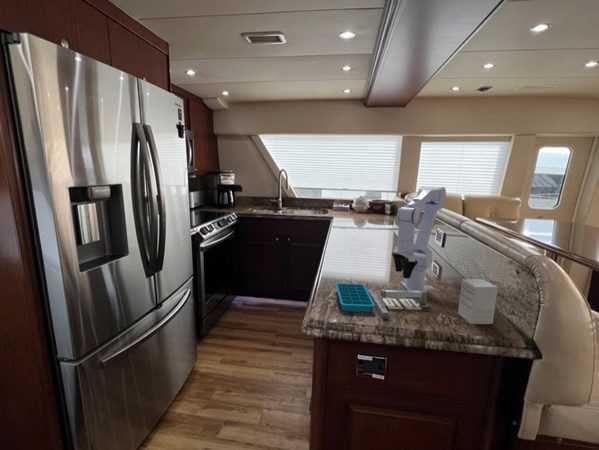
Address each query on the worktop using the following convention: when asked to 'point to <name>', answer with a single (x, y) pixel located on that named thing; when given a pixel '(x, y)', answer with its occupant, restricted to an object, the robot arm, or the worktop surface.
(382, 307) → the rail
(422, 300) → the bar
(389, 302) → the psu label
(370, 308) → the ice cube tray
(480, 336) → the worktop surface
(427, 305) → the pivot base
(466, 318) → the supplement box
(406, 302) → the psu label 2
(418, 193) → the robot arm
